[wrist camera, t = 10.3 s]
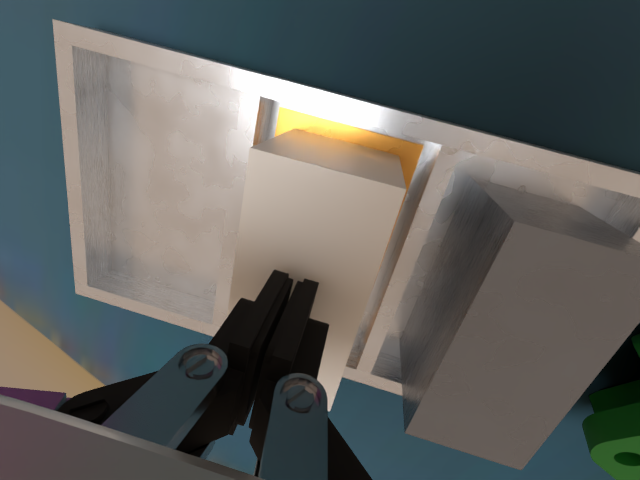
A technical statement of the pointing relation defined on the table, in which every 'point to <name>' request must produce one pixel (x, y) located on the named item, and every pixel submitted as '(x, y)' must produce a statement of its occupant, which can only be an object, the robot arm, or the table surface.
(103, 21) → the table surface
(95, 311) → the table surface
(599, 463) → the clamp
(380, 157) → the cream upright block
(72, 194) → the grey compartment tray
